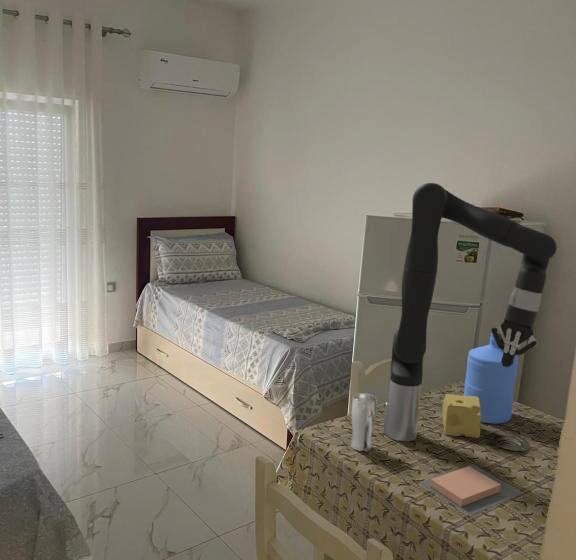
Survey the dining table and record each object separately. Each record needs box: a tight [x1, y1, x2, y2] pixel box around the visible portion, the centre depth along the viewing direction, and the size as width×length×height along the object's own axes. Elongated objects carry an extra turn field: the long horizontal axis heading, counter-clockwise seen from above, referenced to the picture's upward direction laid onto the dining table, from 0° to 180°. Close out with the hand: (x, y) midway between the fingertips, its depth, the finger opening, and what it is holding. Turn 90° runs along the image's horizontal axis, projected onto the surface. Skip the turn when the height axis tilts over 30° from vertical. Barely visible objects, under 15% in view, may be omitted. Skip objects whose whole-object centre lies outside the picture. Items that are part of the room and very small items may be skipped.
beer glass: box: [350, 392, 377, 452], centre depth 163 cm, size 7×7×15 cm
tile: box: [430, 465, 501, 507], centre depth 143 cm, size 10×2×14 cm
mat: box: [419, 463, 524, 516], centre depth 144 cm, size 16×20×1 cm
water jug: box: [463, 332, 519, 425], centre depth 188 cm, size 16×16×28 cm
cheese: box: [441, 393, 482, 439], centre depth 177 cm, size 10×11×10 cm
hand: (506, 366), depth 158 cm, fingers closed
